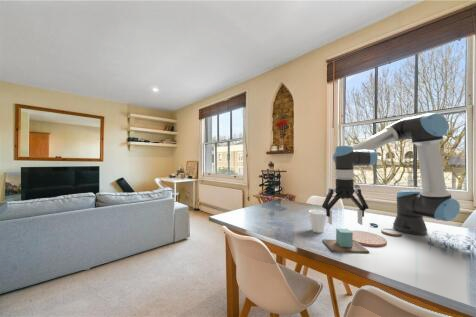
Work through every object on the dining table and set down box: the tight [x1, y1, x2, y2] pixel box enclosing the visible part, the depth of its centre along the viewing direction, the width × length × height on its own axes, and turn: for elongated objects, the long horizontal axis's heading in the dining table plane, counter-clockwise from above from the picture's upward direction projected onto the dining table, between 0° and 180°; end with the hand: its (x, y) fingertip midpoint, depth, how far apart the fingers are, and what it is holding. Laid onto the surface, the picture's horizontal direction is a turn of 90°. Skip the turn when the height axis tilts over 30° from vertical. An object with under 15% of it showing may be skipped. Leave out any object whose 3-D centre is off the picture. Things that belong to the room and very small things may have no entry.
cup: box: [308, 209, 327, 234], centre depth 115 cm, size 10×10×11 cm
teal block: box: [335, 228, 354, 247], centre depth 95 cm, size 5×5×7 cm
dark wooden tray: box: [321, 238, 370, 254], centre depth 95 cm, size 16×12×7 cm
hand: (344, 223), depth 95 cm, fingers open, 13 cm apart
